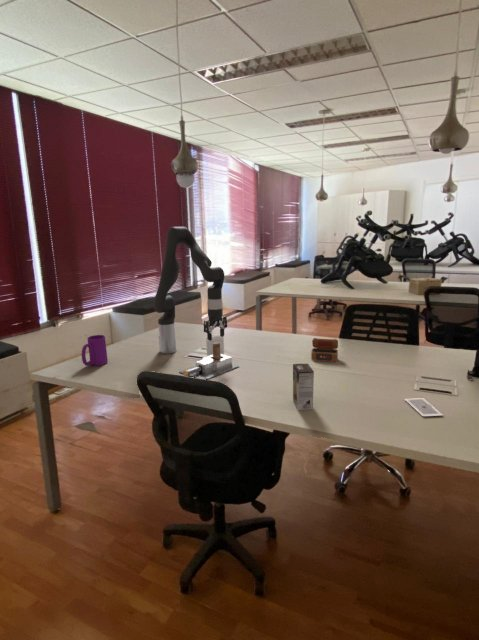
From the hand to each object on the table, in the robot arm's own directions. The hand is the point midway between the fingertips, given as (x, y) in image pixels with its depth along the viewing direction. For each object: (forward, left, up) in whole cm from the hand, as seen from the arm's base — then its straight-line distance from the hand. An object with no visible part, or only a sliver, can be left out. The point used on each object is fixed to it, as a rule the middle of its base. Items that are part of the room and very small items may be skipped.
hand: (216, 338), depth 198 cm
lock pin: (0, -15, -14) cm, 21 cm away
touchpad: (+96, +18, -16) cm, 99 cm away
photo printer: (-14, +12, -16) cm, 24 cm away
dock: (0, -5, -15) cm, 16 cm away
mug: (-54, -40, -16) cm, 69 cm away
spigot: (0, 0, -15) cm, 15 cm away
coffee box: (+59, -9, -16) cm, 62 cm away
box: (+37, +45, -16) cm, 60 cm away
